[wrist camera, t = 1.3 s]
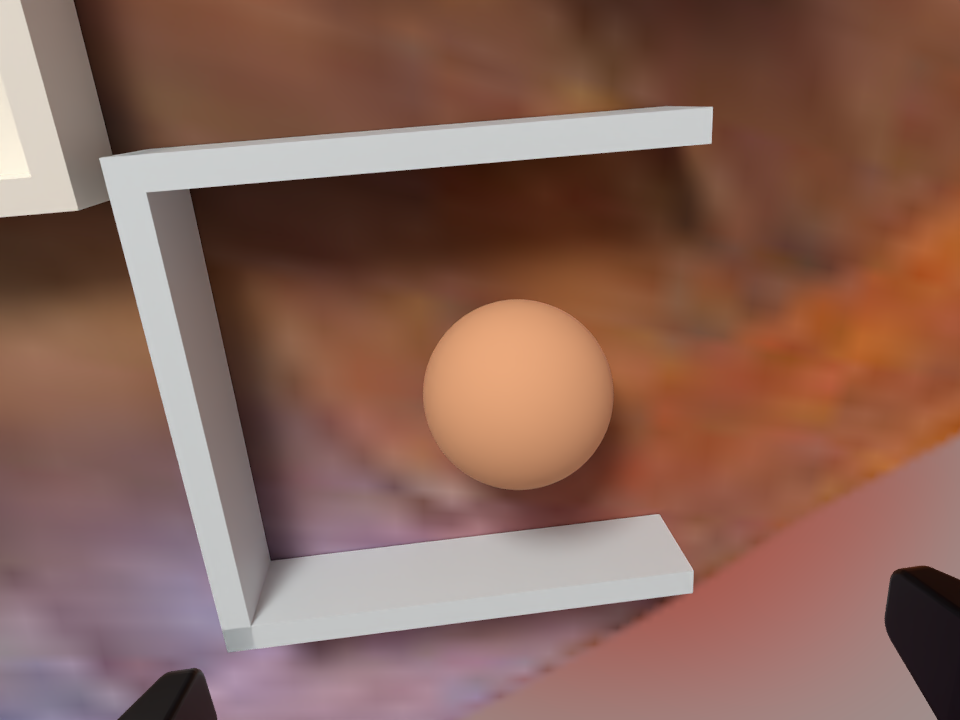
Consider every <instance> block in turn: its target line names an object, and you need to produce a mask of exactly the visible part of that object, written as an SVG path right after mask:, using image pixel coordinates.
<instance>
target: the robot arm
mask: <svg viewBox="0 0 960 720" xmlns="http://www.w3.org/2000/svg"><path fill="white" fill-rule="evenodd" d="M885 626H886V630H887V633H888V636H889V638H890V640H891V641H892V643H893V645H894V647H895V648H896V650H897V652H898V653H899V655H900V657H901V658H902V660H903V662H904V663H905V665H906V667H907V668H908V670H909V672H910V673H911V675H912V677H913V679H914V680H915V682H916V684H917V685H918V687H919V689H920V690H921V692H922V694H923V695H924V697H925V699H926V701H927V702H928V704H929V706H930V707H931V709H932V711H933V712H934V714H935V716H936V717H937V719H938V720H960V580H959V579H957V578H954V577H952V576H950V575H948V574H945V573H943V572H940V571H938V570H936V569H934V568H931V567H928V566H916V567H909V568H902V569H898V570H896V571H894V572H893V574H892V575H891V578H890V583H889V591H888V597H887V604H886V612H885ZM118 720H217V715H216V712H215V708H214V705H213V702H212V699H211V696H210V692H209V689H208V686H207V683H206V679H205V676H204V674H203V673H202V671H201V670H199V669H197V668H191V669H184V670H177V671H171V672H168V673H166V674H164V675H163V676H162V677H160V678H159V679H158V680H157V681H156V682H155V683H154V684H153V685H152V686H151V687H150V688H149V689H148V690H147V691H146V692H145V693H144V694H143V695H142V696H141V697H140V698H139V699H138V700H137V701H136V702H135V703H134V704H133V705H132V706H131V707H130V708H129V709H128V710H127V711H126V712H125V713H124V714H123V715H122V716H121V717H120V718H119V719H118Z"/></svg>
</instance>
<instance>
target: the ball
mask: <svg viewBox="0 0 960 720" xmlns="http://www.w3.org/2000/svg"><path fill="white" fill-rule="evenodd" d="M613 398H614V390H613V381H612V376H611V371H610V367H609V364H608V361H607V359H606V356H605V354H604V352H603V351H602V349H601V347H600V345H599V344H598V342H597V340H596V339H595V338H594V336H593V335H592V334H591V332H590V331H589V330H588V329H587V328H585V327H584V326H583V325H582V324H581V323H580V322H579V321H578V320H577V319H575V318H574V317H573V316H571V315H570V314H568V313H566V312H565V311H563V310H561V309H559V308H556V307H554V306H551V305H548V304H546V303H542V302H538V301H533V300H523V299H514V300H504V301H498V302H494V303H491V304H487V305H484V306H482V307H480V308H478V309H475V310H473V311H472V312H470V313H468V314H467V315H465V316H463V317H462V318H461V319H460V320H458V321H457V322H456V323H455V324H454V325H453V326H452V327H451V328H450V329H449V330H448V331H447V332H446V333H445V334H444V336H443V337H442V338H441V340H440V341H439V343H438V344H437V346H436V348H435V350H434V351H433V353H432V355H431V358H430V360H429V363H428V365H427V369H426V373H425V378H424V387H423V405H424V410H425V415H426V420H427V423H428V426H429V429H430V432H431V434H432V436H433V438H434V439H435V441H436V443H437V445H438V446H439V448H440V449H441V451H442V452H443V454H444V455H445V456H446V457H447V458H448V459H449V460H450V461H451V462H452V463H453V464H454V465H455V466H456V467H457V468H459V469H460V470H461V471H462V472H463V473H465V474H467V475H468V476H470V477H471V478H473V479H475V480H477V481H480V482H482V483H484V484H487V485H490V486H494V487H497V488H502V489H508V490H528V489H535V488H540V487H544V486H547V485H550V484H553V483H555V482H558V481H560V480H562V479H564V478H565V477H567V476H569V475H571V474H572V473H573V472H575V471H576V470H578V469H579V468H580V467H581V466H582V465H583V464H584V463H586V462H587V461H588V459H589V458H590V457H591V456H592V455H593V454H594V452H595V451H596V449H597V448H598V446H599V445H600V443H601V441H602V439H603V437H604V435H605V433H606V431H607V429H608V426H609V423H610V419H611V414H612V409H613Z"/></svg>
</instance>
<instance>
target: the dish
mask: <svg viewBox="0 0 960 720" xmlns="http://www.w3.org/2000/svg"><path fill="white" fill-rule="evenodd" d="M107 156H113V155H112V151H111V147H110V143H109V139H108V135H107V131H106V127H105V123H104V119H103V115H102V111H101V107H100V103H99V99H98V95H97V91H96V87H95V83H94V80H93V76H92V72H91V68H90V64H89V60H88V56H87V52H86V48H85V44H84V40H83V36H82V32H81V28H80V24H79V20H78V16H77V12H76V8H75V5H74V1H73V0H0V217H11V216H22V215H34V214H45V213H56V212H68V211H79V210H82V209H85V208H88V207H91V206H94V205H97V204H100V203H103V202H106V201H109V200H110V198H109V194H108V191H107V187H106V183H105V179H104V175H103V171H102V168H101V164H100V160H99V158H102V157H107Z"/></svg>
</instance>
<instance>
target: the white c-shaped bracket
mask: <svg viewBox="0 0 960 720" xmlns="http://www.w3.org/2000/svg"><path fill="white" fill-rule="evenodd" d="M712 117H713V107H688V106H663V107H651V108H639V109H627V110H615V111H603V112H591V113H579V114H567V115H554V116H542V117H530V118H518V119H506V120H494V121H482V122H470V123H458V124H446V125H434V126H422V127H409V128H397V129H385V130H373V131H361V132H349V133H337V134H325V135H313V136H301V137H289V138H277V139H264V140H252V141H240V142H228V143H216V144H204V145H192V146H180V147H168V148H156V149H146V150H140V151H135V152H129V153H124V154H118V155H113V156H107V157H102V158H99V160H100V164H101V168H102V171H103V175H104V179H105V183H106V187H107V191H108V194H109V198H110V202H111V206H112V210H113V214H114V217H115V221H116V225H117V229H118V233H119V237H120V240H121V244H122V248H123V252H124V256H125V260H126V264H127V267H128V271H129V275H130V279H131V283H132V287H133V290H134V294H135V298H136V302H137V306H138V310H139V313H140V317H141V321H142V325H143V329H144V333H145V337H146V340H147V344H148V348H149V352H150V356H151V360H152V363H153V367H154V371H155V375H156V379H157V383H158V386H159V390H160V394H161V398H162V402H163V406H164V409H165V413H166V417H167V421H168V425H169V429H170V433H171V436H172V440H173V444H174V448H175V452H176V456H177V459H178V463H179V467H180V471H181V475H182V479H183V482H184V486H185V490H186V494H187V498H188V502H189V505H190V509H191V513H192V517H193V521H194V525H195V529H196V532H197V536H198V540H199V544H200V548H201V552H202V555H203V559H204V563H205V567H206V571H207V575H208V578H209V582H210V586H211V590H212V594H213V598H214V602H215V605H216V609H217V613H218V617H219V621H220V625H221V628H222V632H223V636H224V640H225V644H226V648H227V651H228V652H236V651H244V650H251V649H259V648H267V647H275V646H283V645H291V644H298V643H306V642H314V641H322V640H330V639H337V638H345V637H353V636H361V635H369V634H376V633H384V632H392V631H400V630H408V629H416V628H423V627H431V626H439V625H447V624H455V623H462V622H470V621H478V620H486V619H494V618H501V617H509V616H517V615H525V614H533V613H540V612H548V611H556V610H564V609H572V608H580V607H587V606H595V605H603V604H611V603H619V602H626V601H634V600H642V599H650V598H658V597H665V596H673V595H681V594H689V593H693V576H694V570H693V569H692V567H691V565H690V564H689V562H688V561H687V559H686V557H685V556H684V554H683V552H682V551H681V549H680V547H679V546H678V544H677V542H676V541H675V539H674V537H673V536H672V534H671V532H670V531H669V529H668V528H667V526H666V524H665V523H664V521H663V519H662V518H661V516H660V514H655V515H647V516H639V517H630V518H622V519H614V520H605V521H597V522H589V523H581V524H572V525H564V526H556V527H547V528H539V529H531V530H522V531H514V532H506V533H497V534H489V535H481V536H473V537H464V538H456V539H448V540H439V541H431V542H423V543H414V544H406V545H398V546H389V547H381V548H373V549H365V550H356V551H348V552H340V553H331V554H323V555H315V556H306V557H298V558H290V559H281V560H273V561H271V560H270V555H269V551H268V546H267V541H266V537H265V532H264V528H263V523H262V519H261V514H260V509H259V505H258V500H257V496H256V491H255V487H254V482H253V478H252V473H251V468H250V464H249V459H248V455H247V450H246V446H245V441H244V436H243V432H242V427H241V423H240V418H239V414H238V409H237V405H236V400H235V395H234V391H233V386H232V382H231V377H230V373H229V368H228V364H227V359H226V354H225V350H224V345H223V341H222V336H221V332H220V327H219V322H218V318H217V313H216V309H215V304H214V300H213V295H212V291H211V286H210V281H209V277H208V272H207V268H206V263H205V259H204V254H203V249H202V245H201V240H200V236H199V231H198V227H197V222H196V218H195V213H194V208H193V204H192V199H191V195H190V190H189V189H192V188H204V187H215V186H227V185H239V184H250V183H262V182H273V181H285V180H296V179H308V178H319V177H331V176H343V175H354V174H366V173H377V172H389V171H400V170H412V169H423V168H435V167H446V166H458V165H470V164H481V163H493V162H504V161H516V160H527V159H539V158H550V157H562V156H574V155H585V154H597V153H608V152H620V151H631V150H643V149H654V148H666V147H677V146H689V145H701V144H711V142H712Z"/></svg>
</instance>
